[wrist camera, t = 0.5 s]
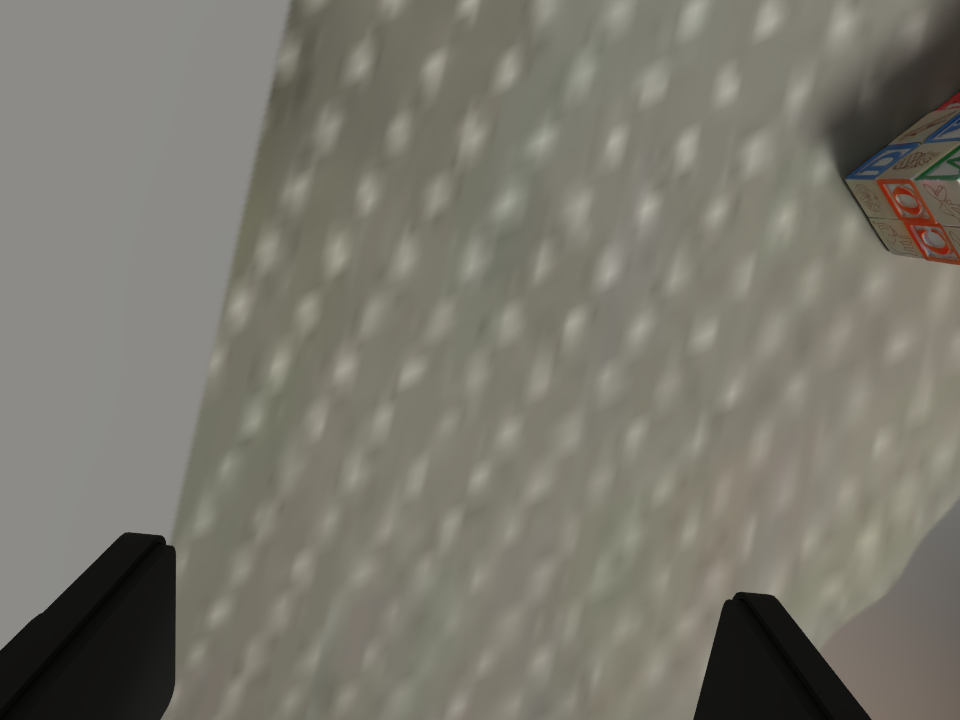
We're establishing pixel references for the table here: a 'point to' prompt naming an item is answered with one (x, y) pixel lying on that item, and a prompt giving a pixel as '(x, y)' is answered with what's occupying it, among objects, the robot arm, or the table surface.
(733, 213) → the table surface
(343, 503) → the table surface
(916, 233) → the stack of blocks
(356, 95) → the table surface
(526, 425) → the table surface
